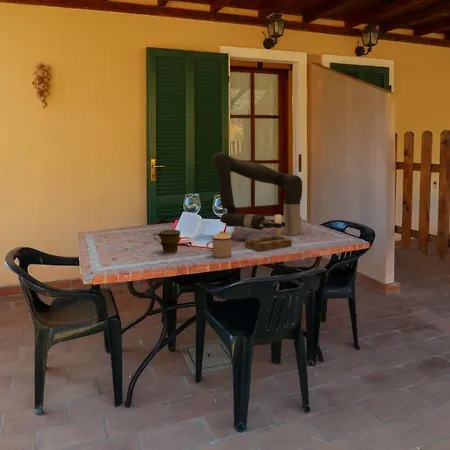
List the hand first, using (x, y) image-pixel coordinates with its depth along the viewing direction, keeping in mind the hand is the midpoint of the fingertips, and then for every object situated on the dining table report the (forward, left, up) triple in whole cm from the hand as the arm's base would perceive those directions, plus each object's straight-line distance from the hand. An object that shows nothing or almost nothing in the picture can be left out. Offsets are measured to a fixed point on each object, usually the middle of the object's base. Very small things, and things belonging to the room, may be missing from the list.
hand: (282, 225), depth 231 cm
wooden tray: (+7, -3, -10) cm, 13 cm away
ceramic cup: (+54, -21, -11) cm, 59 cm away
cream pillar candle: (+1, -3, -9) cm, 10 cm away
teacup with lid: (+37, -1, -11) cm, 38 cm away
